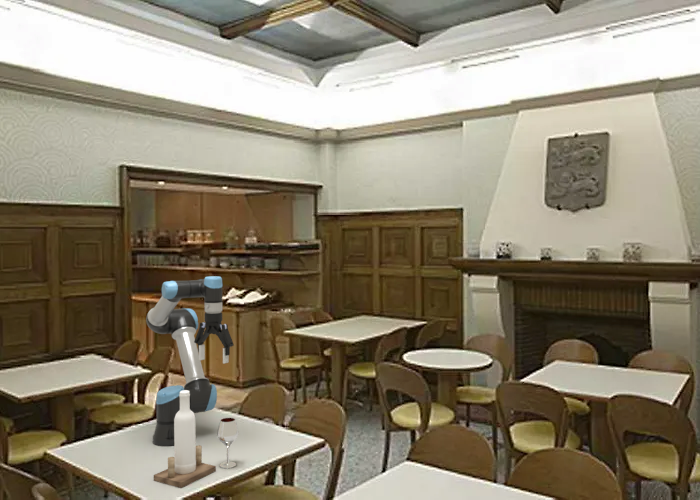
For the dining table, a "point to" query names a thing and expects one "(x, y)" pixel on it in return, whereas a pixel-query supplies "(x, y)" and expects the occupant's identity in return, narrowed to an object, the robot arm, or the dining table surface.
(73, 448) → the dining table surface
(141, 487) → the dining table surface
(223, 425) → the wineglass
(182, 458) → the bottle
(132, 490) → the dining table surface
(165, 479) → the stand
